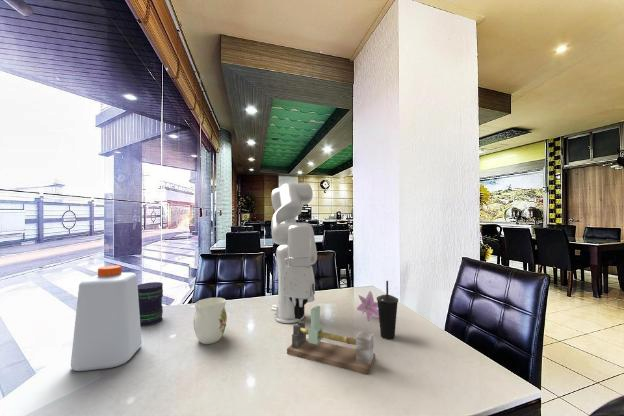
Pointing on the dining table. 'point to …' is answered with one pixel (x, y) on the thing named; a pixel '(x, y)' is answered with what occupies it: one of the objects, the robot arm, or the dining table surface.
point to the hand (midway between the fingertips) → (299, 317)
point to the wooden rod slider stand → (334, 349)
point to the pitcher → (210, 319)
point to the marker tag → (315, 326)
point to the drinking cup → (387, 314)
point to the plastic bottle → (106, 320)
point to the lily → (368, 306)
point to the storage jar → (150, 303)
